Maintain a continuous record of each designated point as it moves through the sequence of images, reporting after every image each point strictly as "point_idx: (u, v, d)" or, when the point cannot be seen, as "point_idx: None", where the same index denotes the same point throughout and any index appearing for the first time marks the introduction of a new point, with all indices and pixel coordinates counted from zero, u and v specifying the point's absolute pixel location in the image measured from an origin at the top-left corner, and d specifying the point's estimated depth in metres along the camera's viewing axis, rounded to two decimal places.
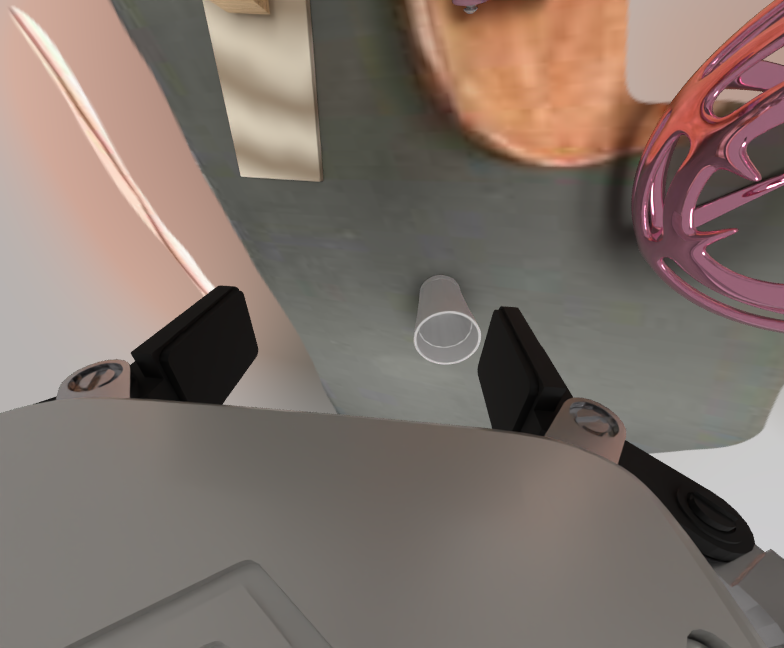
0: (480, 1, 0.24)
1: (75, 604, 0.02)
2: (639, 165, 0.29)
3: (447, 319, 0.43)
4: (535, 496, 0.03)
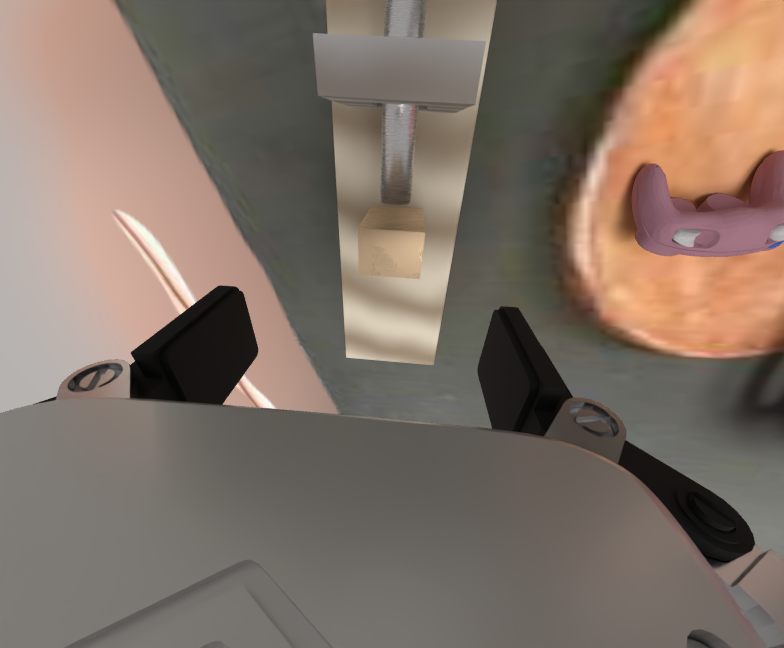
0: None
1: (75, 604, 0.02)
2: None
3: None
4: (535, 496, 0.03)
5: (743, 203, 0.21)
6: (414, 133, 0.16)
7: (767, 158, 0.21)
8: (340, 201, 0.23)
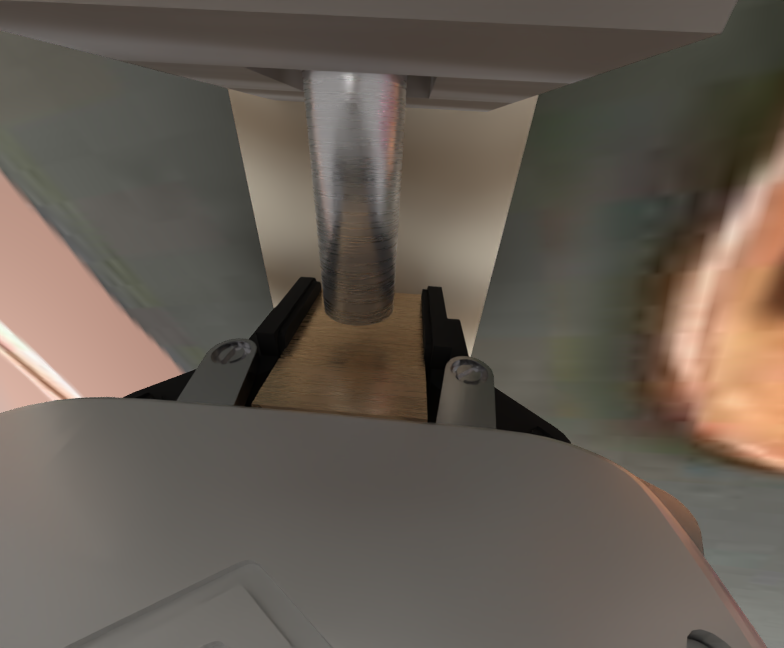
0: None
1: (75, 604, 0.02)
2: None
3: None
4: (535, 496, 0.03)
5: None
6: (396, 162, 0.06)
7: None
8: (271, 271, 0.13)
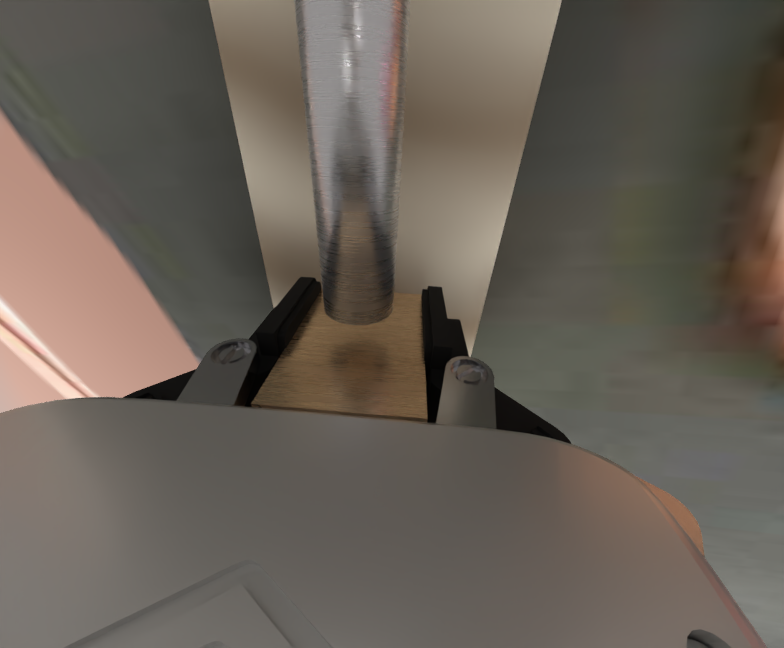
0: None
1: (75, 604, 0.02)
2: None
3: None
4: (535, 496, 0.03)
5: None
6: (396, 161, 0.06)
7: None
8: (226, 45, 0.09)
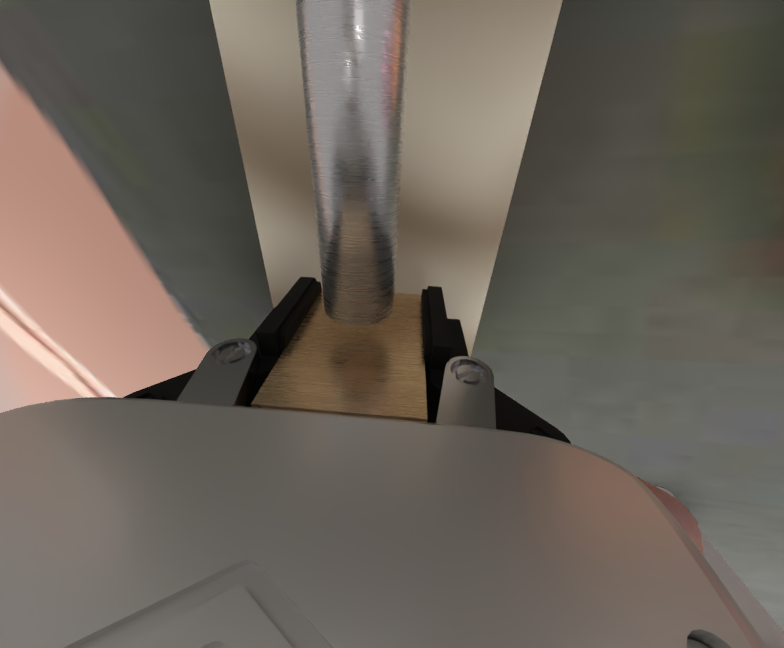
0: None
1: (75, 604, 0.02)
2: None
3: None
4: (535, 496, 0.03)
5: None
6: (396, 162, 0.06)
7: None
8: None
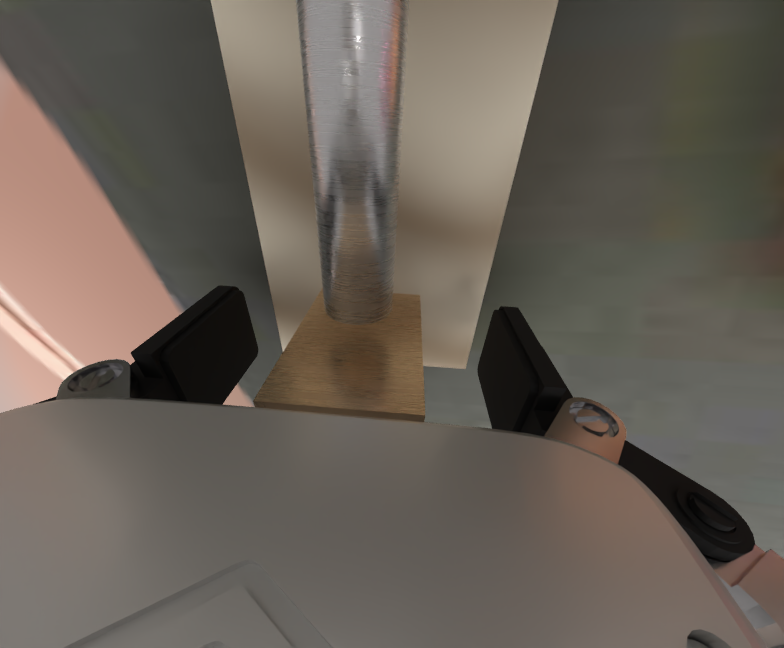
0: None
1: (75, 604, 0.02)
2: None
3: None
4: (535, 496, 0.03)
5: None
6: (394, 165, 0.06)
7: None
8: None
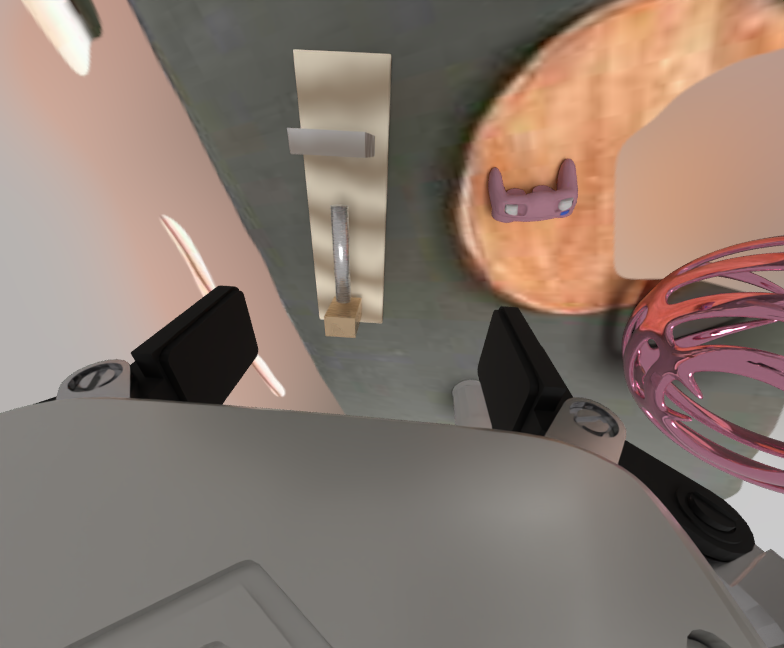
0: (513, 220, 0.34)
1: (75, 604, 0.02)
2: (626, 329, 0.40)
3: None
4: (535, 496, 0.03)
5: (552, 190, 0.35)
6: (348, 275, 0.36)
7: (563, 163, 0.34)
8: (310, 207, 0.37)
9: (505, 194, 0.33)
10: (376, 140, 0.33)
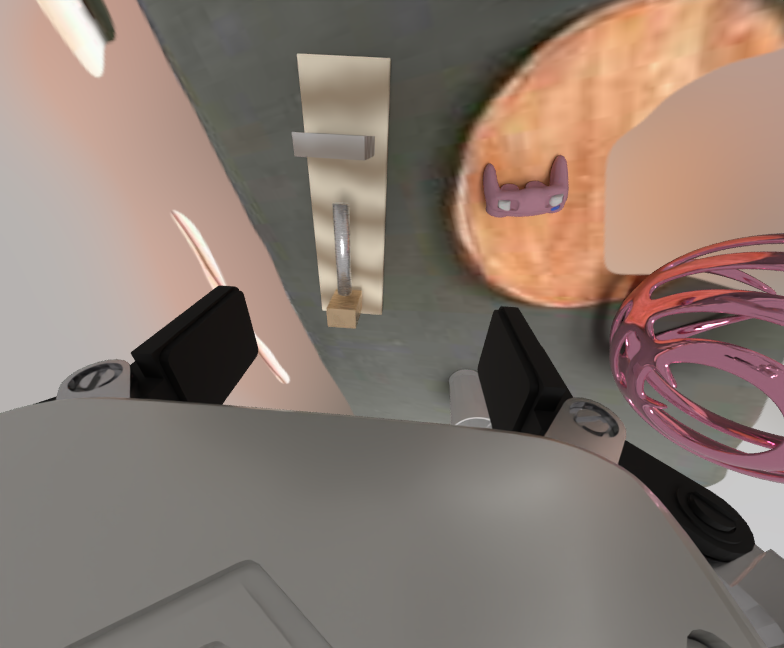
0: (506, 215, 0.35)
1: (75, 604, 0.02)
2: (614, 322, 0.42)
3: None
4: (535, 496, 0.03)
5: (545, 186, 0.36)
6: (349, 269, 0.39)
7: (556, 159, 0.35)
8: (313, 204, 0.39)
9: (498, 190, 0.34)
10: (376, 140, 0.34)
